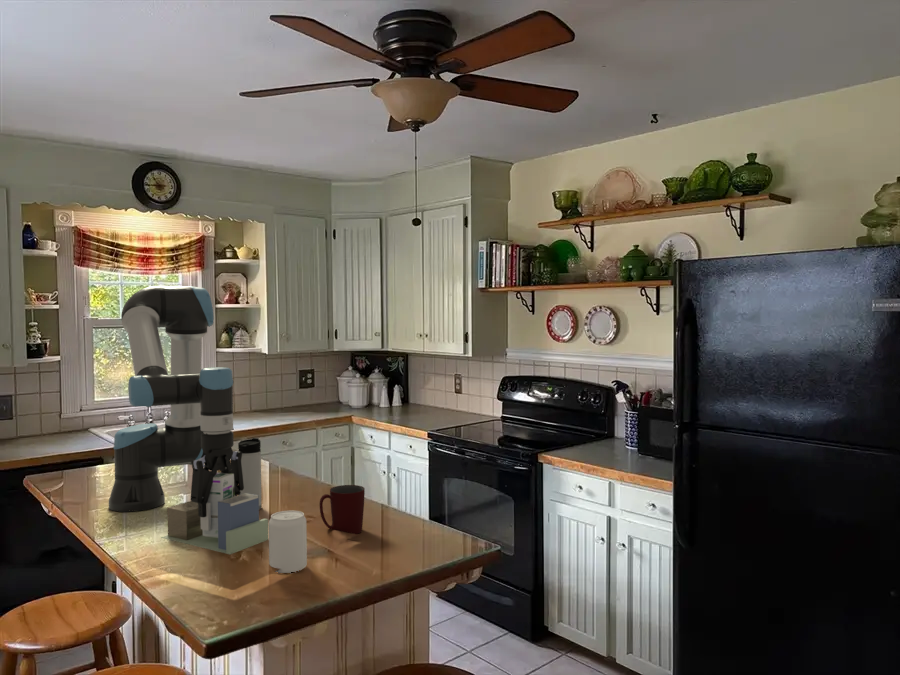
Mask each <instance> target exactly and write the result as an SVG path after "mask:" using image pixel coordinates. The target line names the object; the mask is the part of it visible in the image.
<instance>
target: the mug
mask: <svg viewBox="0 0 900 675" xmlns="http://www.w3.org/2000/svg"><path fill="white" fill-rule="evenodd" d="M365 492H366V491H365V487H364V486H361V485H358V484H357V485H356V484H344V485H337V486H336V485H335V486H334V487H331V488H329V494H323V495H322V496H321V497H320V499H319V512H320V517H321V520H322V521H323V523H324V525H325V526H326V527H327V529H329V530H332V531H339V532H343V533H347V534H348V533H349V534H354V535H358V534H361V533H362V532H361V531H363V522H364V509H365V494H366V493H365ZM325 499H330V500H329V502H330V511H331V512H330V514H331V521H332V522H331V525H330V524H329V523H328V522H327V519H326V518H325V513H324V508H323V506H324V505H323V504H324V501H325Z"/></svg>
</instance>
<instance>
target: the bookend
mask: <svg viewBox="0 0 900 675" xmlns="http://www.w3.org/2000/svg"><path fill="white" fill-rule="evenodd" d="M166 510H167V535H168V536H171V537H176V538H180V539H184V540H189V539H192V538H195V537H198V536H201V535H203V531H202V529H201V517H199V515H198V503H196V502H192V501H191V500H189V501H185V502H182V503H178V504H175V505H171V506H169V507H167V508H166Z"/></svg>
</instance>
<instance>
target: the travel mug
mask: <svg viewBox="0 0 900 675" xmlns="http://www.w3.org/2000/svg"><path fill="white" fill-rule="evenodd" d="M261 442H262V441H261V440H260V439H259V438H258V437H252V438H250V439H244V440H243V439H242V440H241V441H239V442H238V443H237V444H238V445H237V446H238V451H239V452H242V458H241V465H242V474H243V484H244V489H243V490H242V491H241V493H240V495H242V494H245V493H249V494H255V495H259V510H261V509H262V506H263V505H262V454H261V453H262V451H261V450H262V449H261V447H262V446H261Z"/></svg>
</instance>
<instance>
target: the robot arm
mask: <svg viewBox="0 0 900 675" xmlns="http://www.w3.org/2000/svg"><path fill="white" fill-rule="evenodd" d="M120 317H121V318H120V319H121V324H122V327H123V329H124V330H125V331H126V332H127V335H128V342H129V348H130V353H131V360H132V365H133V371H134V376H130V377H129V379H128V389H127V390H128V391H127V392H128V402H129V404H130V405H131V406H133V407H147V408H149V407H159V406H161V407H162V406H170V415H169V417H168V418H167V419H165V421H164V427H159V426H158V425H157V424H156V423H155V422H154V423H141V424H134V425H131V426H127V427H124V428H121V429H120V430H117V431H116V432H115V434H114V437H113V438H114V440H113V444H114V445H113V446H112V448H113V450H114V482H113V485H112V489H111V492H110V496H109V499H108V509H109V510H111V511H114V512H140V511H147V510H150V509H155V508H158V507H160V506H163V505H164V504H165V501H166V499H165V493H164V490H163V486H162V484H161V482H160V479H159V473H158V471H159V470H158V469H159V468H166V467H176V466H185V465H186V466H187V465H190V466H191V468H192V474H191V476H192V478H191V489H190V490H191V491H190V499H189V501H192V502H196V503H198V515H199V517H201V529H202V530H207V531H210V530H211V503H208V498H209V495H210V491H211V487H212V483H213V477H214V476H215V475H216V474H217V472H221V473H227V474H230V473H233V474H234V495H235V496H239V495H240V493H241V491H242V490H243V489H244V484H243V474H242V465H241V458H242V452H239V451H237V450H233V449H232V448H233V446H234V432H233V429H234V403H233V402H234V395H233V394H234V391H233V390H234V389H233V388H234V379H233V378H234V377H233V371H232V369H231V368H230V367H222V366H212V367H204V368H202V356H203V355H202V352H203V351H202V348H203V345H202V344H203V342H202V339H203V337H204V336H206V334H207V333H208V327H212V326H213V325H214V319H215V317H214V307H213V303H212V298H211V296H210V292H209V291H208V290H207V288H204V287H200V286H184V285H183V286H181V285H180V286H178V285H177V286H169V285H168V286H159V285H157V286H155V285H151V286H146V287H144V288H142V289H139V290H138V291H136V292H135V293H133V294H132V295H131V296H130V297H129V298H128V300H127V301H126V302H125V303H124V304H123V307H122V310H121V316H120ZM159 327H163V328H164V327H165V328H164V329H165V334H167V336H169V338H170V373H168V368H167V362H166V361H165V360H166V359H165V355H164V350H163V347H162V342H161V337H160V332H159V329H158V328H159Z"/></svg>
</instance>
